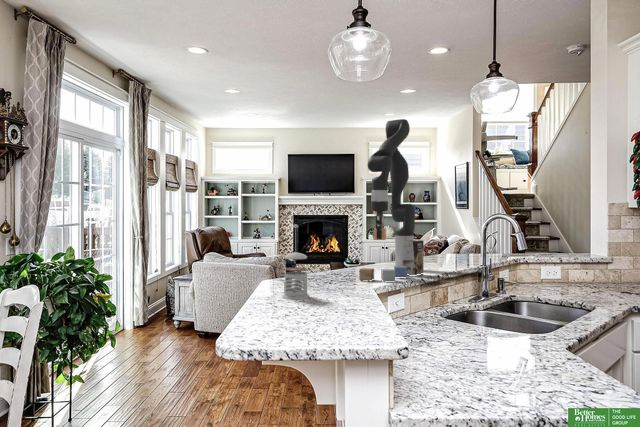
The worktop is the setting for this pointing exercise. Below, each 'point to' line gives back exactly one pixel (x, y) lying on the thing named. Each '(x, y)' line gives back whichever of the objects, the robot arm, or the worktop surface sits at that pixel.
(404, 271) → the navy block
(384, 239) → the terracotta block
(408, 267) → the coffee box
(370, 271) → the walnut block
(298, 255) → the french press
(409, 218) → the robot arm
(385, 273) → the slate block
